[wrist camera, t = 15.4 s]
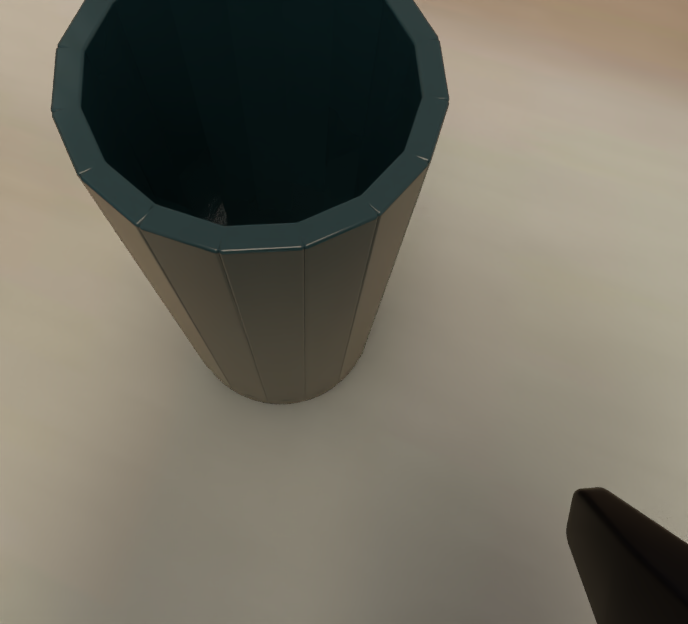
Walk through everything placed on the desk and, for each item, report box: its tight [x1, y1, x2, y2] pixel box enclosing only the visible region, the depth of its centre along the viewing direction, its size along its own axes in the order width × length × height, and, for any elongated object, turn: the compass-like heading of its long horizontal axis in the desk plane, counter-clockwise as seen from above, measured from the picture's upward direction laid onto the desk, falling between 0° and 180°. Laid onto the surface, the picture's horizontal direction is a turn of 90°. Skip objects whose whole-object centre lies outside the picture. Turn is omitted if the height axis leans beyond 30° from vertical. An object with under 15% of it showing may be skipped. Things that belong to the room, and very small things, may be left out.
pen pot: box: [51, 0, 449, 404], centre depth 15 cm, size 6×6×12 cm
